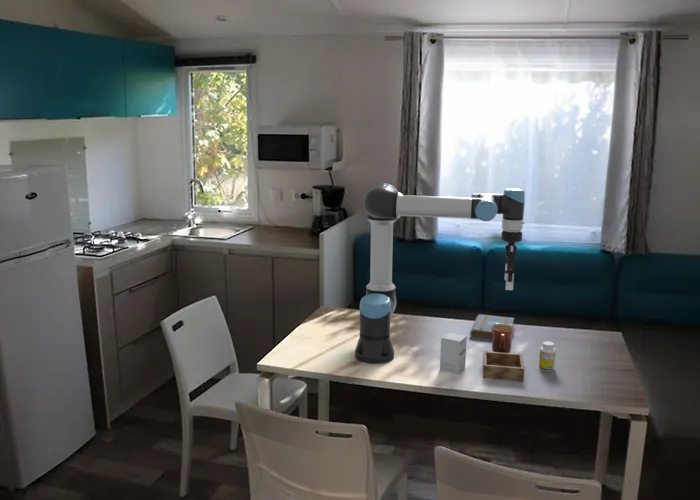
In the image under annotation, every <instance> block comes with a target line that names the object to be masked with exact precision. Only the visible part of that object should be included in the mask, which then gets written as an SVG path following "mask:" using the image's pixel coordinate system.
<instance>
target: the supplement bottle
mask: <svg viewBox="0 0 700 500" xmlns="http://www.w3.org/2000/svg"><path fill="white" fill-rule="evenodd" d="M556 354H557V349H556V348H555V343H554V342H552V341H548V340H547V341H543V342H542V346H541V347H540V350H539V361H538V364H539V365H538V369H539V370H540V371H542V372H547V373H550V372H554V371H555V366H556V356H557V355H556Z"/></svg>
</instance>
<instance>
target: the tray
mask: <svg viewBox="0 0 700 500" xmlns="http://www.w3.org/2000/svg"><path fill="white" fill-rule="evenodd" d="M482 357H483V358H482V379H490V380H498V381H499V380H501V381H502V380H503V381H511V382H524V381H525V380H524V379H525V364H524V363H525V362H524V357H523V354H522V353H513V352H510V353H501V352H493V351H486V350H484V351H483V356H482Z"/></svg>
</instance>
